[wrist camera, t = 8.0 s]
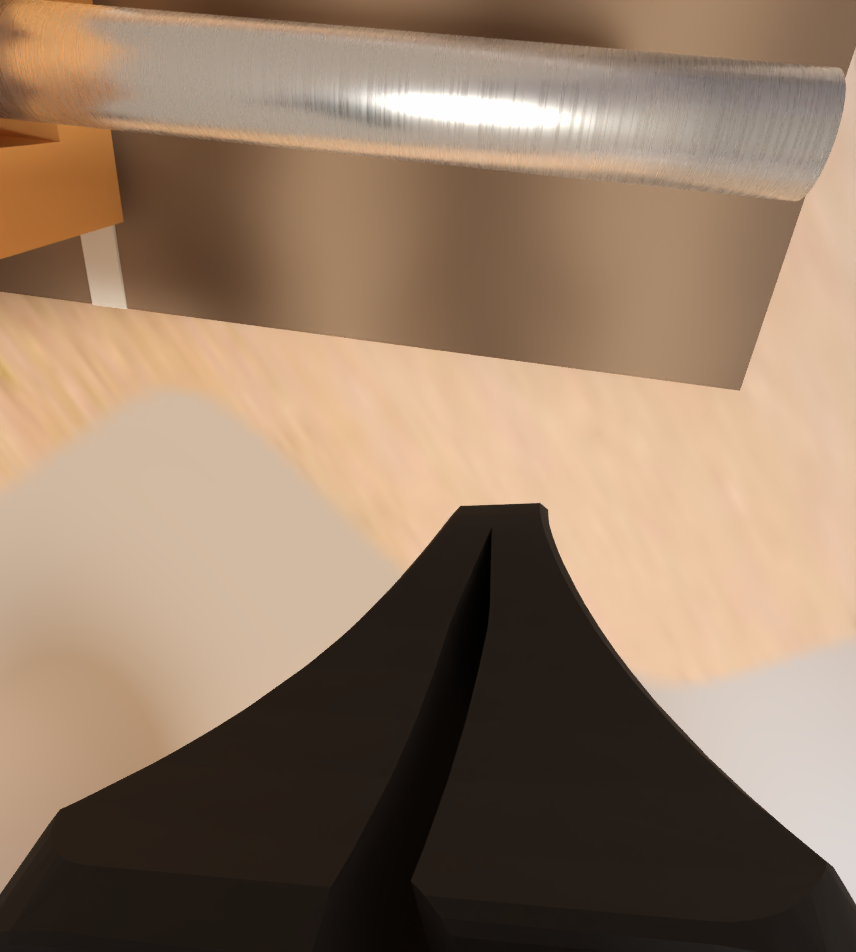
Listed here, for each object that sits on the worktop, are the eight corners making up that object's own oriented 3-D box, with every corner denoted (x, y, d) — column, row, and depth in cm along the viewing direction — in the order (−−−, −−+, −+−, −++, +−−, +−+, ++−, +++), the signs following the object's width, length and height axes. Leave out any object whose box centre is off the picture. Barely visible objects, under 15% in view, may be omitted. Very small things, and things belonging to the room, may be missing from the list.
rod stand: (931, -237, 12) (1280, -541, 6) (731, 376, 18) (814, 514, 12) (-305, -285, 15) (-875, -531, 9) (-126, 263, 21) (-396, 331, 15)
